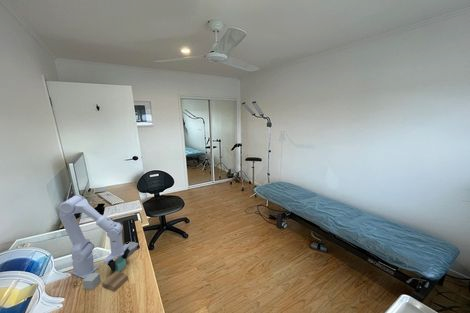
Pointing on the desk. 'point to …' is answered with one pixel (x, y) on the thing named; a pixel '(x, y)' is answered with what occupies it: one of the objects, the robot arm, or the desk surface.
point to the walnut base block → (115, 281)
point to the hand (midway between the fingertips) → (119, 266)
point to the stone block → (131, 248)
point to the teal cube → (120, 264)
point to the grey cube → (91, 281)
